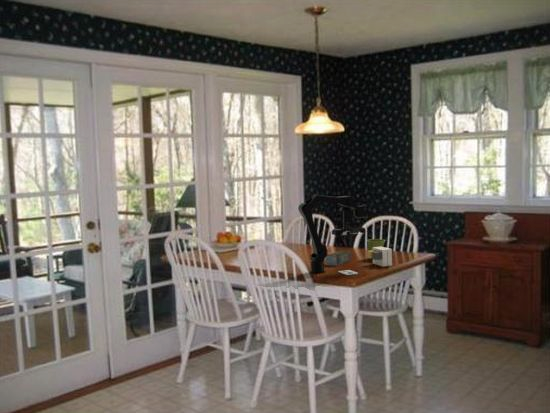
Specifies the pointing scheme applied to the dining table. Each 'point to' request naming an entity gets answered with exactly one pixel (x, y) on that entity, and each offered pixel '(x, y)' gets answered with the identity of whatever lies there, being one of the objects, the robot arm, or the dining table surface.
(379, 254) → the charcoal button
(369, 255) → the amber button
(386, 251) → the console
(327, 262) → the beverage carton
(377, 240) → the plant pot
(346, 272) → the card
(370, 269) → the dining table surface
